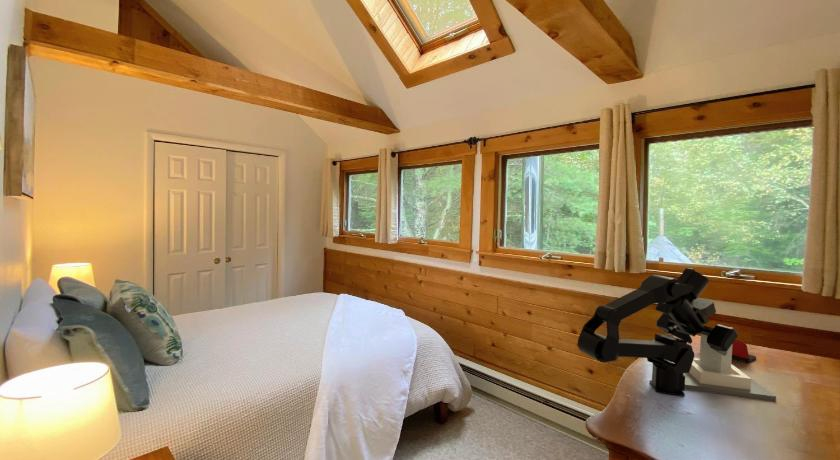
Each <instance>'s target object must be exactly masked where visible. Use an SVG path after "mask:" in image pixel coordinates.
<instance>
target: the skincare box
mask: <svg viewBox="0 0 840 460" xmlns="http://www.w3.org/2000/svg"><path fill="white" fill-rule="evenodd" d="M707 337H708V336H707V335H704V334H701V335H700V343H699V346H700V347H699V359H700V360H699V366H700V367H701V368H702V369H703V370H704V371H709V372H717V373H725V374H731V364H732V360H733V359H732V345H731V346H730V348H729V349H728V350H727V354H726V356H724V355H722V354H720V353H718V352H717V351H715V350H713V349H712V348H710V345H708V343H707Z"/></svg>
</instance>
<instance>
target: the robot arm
mask: <svg viewBox="0 0 840 460" xmlns="http://www.w3.org/2000/svg"><path fill="white" fill-rule="evenodd" d="M708 284H710V281H709V279H708V277H706V276H704V275H703V274H702V273H701V272H698V271H696V270H695V269H694V268H690V267H685V269H684V270H683V271H682V273H681V274H680V276H679V277H678V278H675V277H668V276H663V275H660V274H651V275H650V276H648V277H647V278H645V279H644V280H642V281H641V283H640V286H639V287H637V288H636V289H635V290H633V291H630V292H629V293H627V294H625V295H622V296H621V297H619V298H616V299H614V300H612V301H611V302H608V303H606V304H604V305H599V306H598V307H596V309H595V311H594V314H593V315H592V317H591V318H589V320H587V321H586V322H585V323H584V325H583V327H582V329H581V331H580V334H579V337H578V338H577V348H578V350H579V352H581V353H583V354H584V355H586V356H589V357H591V358H592V359H594V360H596V361H598V362H600V363H604V364H605V363H610V362H614V361H616V360H617V359H619V358H621V357H622V358H642V359H643V358H645V359H646V360H647V361H646V362H648V363H651V364H652V373H651V374H652V375H651V379H650V380H649V384H650V383H651V384H650V385H651V387H652V388H653V390H655V392H656V393H659V394H667V395H674V396H680V397H681V396H682V397H685V396H686V394H685V392H684V391H685V390H686V389H685V376H684V375H683V373H689V372H690V369H691V366H692V363H693V359H694V358H695V352H694V350H693V346H692V345H691V344H692V343H693V339H692V337H694V338H695V337H696V335H698V334H704V335H707V336H708V337H707V343H708V345H710V348H712V349H713V350H715V351H717V352H718V353H720V354H722V355H724V356H726V354H727V350H728V349H729V348H730V346H731V345H732V344H733V342H734V341H735V340H736V339H737V338H738V337H739V334H738V331H736V330H735V328H733V327H731V326H730V327H729V326H725V325H723V324H715V326H714V327H711V326H709V325H708V326H707V324H708V323H709V317H711V316H712V315H715V314H717V310H716V305H715V301H714V300H711V299H705V298H702V297H699V296H700V295H701V294H702V293H703V291H705V289H706V288H707V286H708ZM654 304H655V311H656V312H660V313H662V314H661V315H660V316H659V317H658V319H657V320H656V322H655V325H656V327H657V328H658V330H660V331H662V332H664V333H663V334H658V333H654V338H653V339H652V340H650V339H649V340H647V339H646V340H645V339H632V338H631V339H629V338H628V339H627V338H620V330H619V329H620V328H619V326H620V325H621V322H622V320H625V319H626V318H628V317H630V316H632V315H634V314H637V313H638V312H640V311H642V310H643V309H644V310H645V309H646V308H648V307H649V306H651V305H654ZM656 304H657V305H656ZM604 323H606V334H607V335H604V334H600V333H598V332H596V331H597V329H599V328H600V327H601V326H602V325H603V324H604ZM674 363H675V364H674Z"/></svg>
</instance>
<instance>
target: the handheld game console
mask: <svg viewBox="0 0 840 460" xmlns="http://www.w3.org/2000/svg"><path fill="white" fill-rule="evenodd" d="M699 334H700V333H699ZM700 336H701V334H700ZM732 360H736V361H739V362H742V363H745V364H750V363H751V362H753V361H754V360H757V356H756V355H754V354H749V351H748V346H747V344H746V343H745V342H743V341H739V340H736V339H735V341H734V342H733V344H732Z"/></svg>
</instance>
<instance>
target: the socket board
mask: <svg viewBox="0 0 840 460" xmlns="http://www.w3.org/2000/svg"><path fill="white" fill-rule="evenodd" d="M699 360H700V358H697V357H694V359H693V363H692V366H691V369H690V372H689V373H683V375H684V376H685V390H690V391H691V390H692V391H698V392H707V393H714V394H720V395H727V396H735V397H741V398H742V397H743V398H749V399H750V398H751V399H756V400H757V399H758V400H765V401H773V402H777V396H776V395H775V394H774V393H772V392H771V391H770V390H768V389H767V388H765V387H764V386H763V385H761V383H758V382H757V381H756V380H754V379H753V378H752V377H750V376H749V375H747V374H746V373H745V372H744V371H743V370H740V369H739V368H737V367H736V366H735V365H734V364H732V363H731V374H725V373H717V372H709V371H704V370H703V369H702V368H701V367H700V366H699ZM674 364H675V363H674Z"/></svg>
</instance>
